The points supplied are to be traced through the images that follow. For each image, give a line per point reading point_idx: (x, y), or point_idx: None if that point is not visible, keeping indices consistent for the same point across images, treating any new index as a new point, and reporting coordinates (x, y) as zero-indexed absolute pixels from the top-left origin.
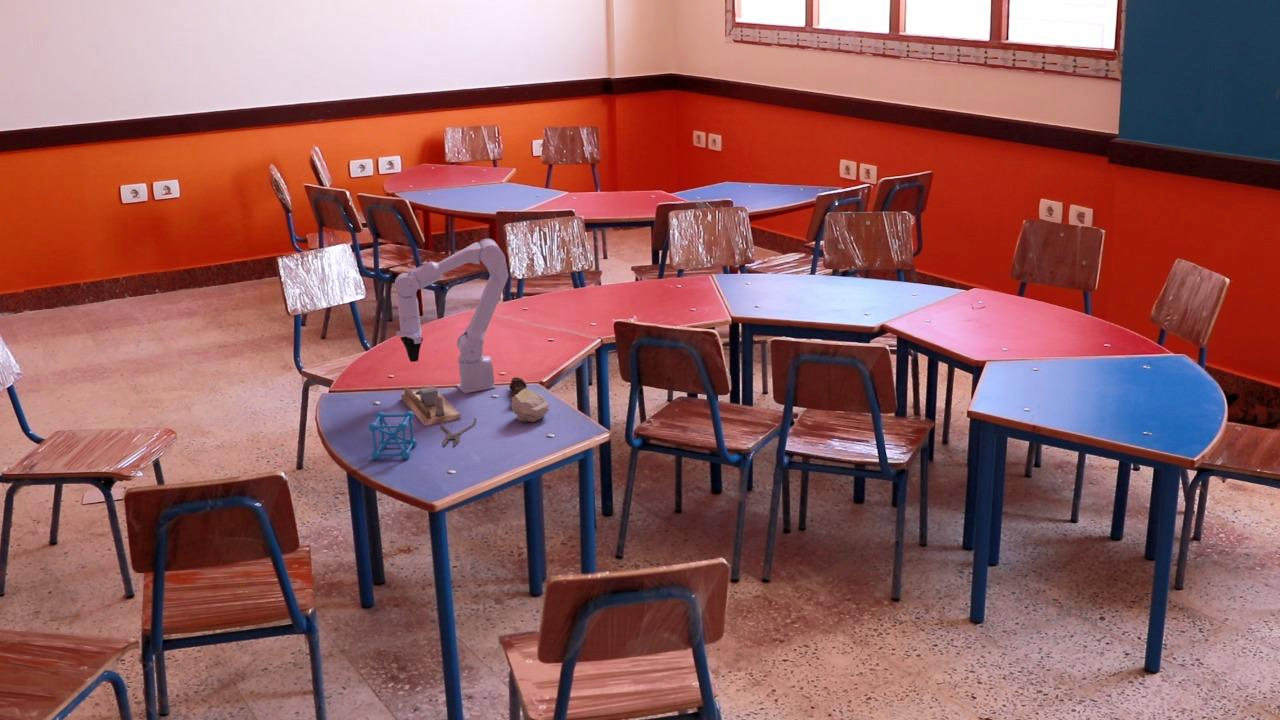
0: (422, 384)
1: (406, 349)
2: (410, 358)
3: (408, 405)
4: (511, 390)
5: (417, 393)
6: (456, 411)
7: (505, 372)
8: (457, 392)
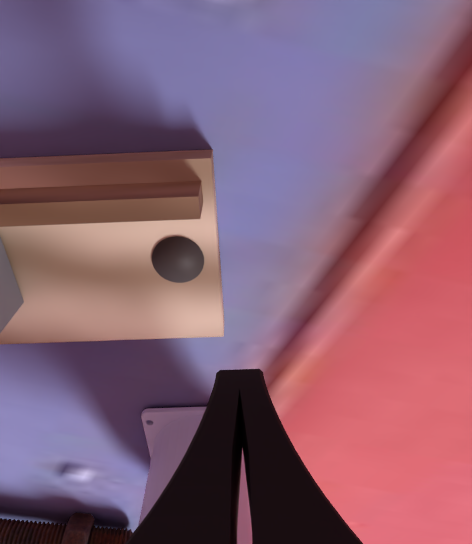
0: (377, 296)
1: (266, 461)
2: (210, 396)
3: (49, 158)
4: (67, 523)
5: (168, 246)
6: None
7: None
8: (178, 390)
